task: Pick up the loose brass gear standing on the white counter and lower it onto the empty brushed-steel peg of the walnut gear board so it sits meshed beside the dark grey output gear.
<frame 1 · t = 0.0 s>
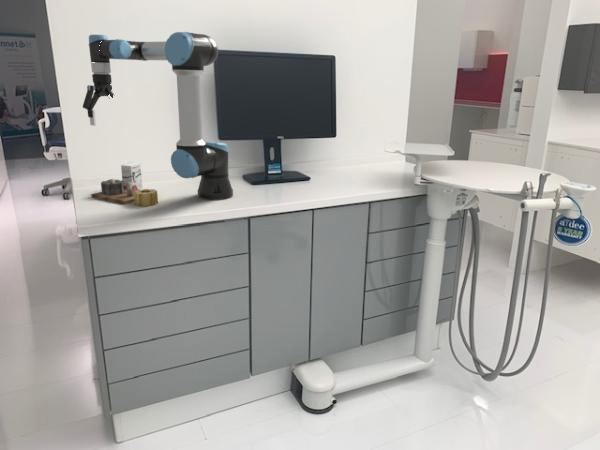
hand: (106, 124, 211), 28 cm above the worktop, fingers open, 13 cm apart
gear board: (121, 197, 200), on the worktop
ink box: (133, 190, 213), on the worktop
brass gear: (146, 203, 192), on the worktop
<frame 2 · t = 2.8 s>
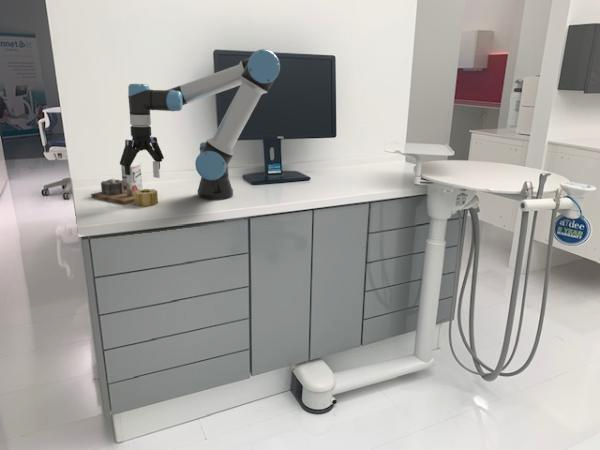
hand: (143, 180, 189), 10 cm above the worktop, fingers open, 13 cm apart
nothing on the worktop moved.
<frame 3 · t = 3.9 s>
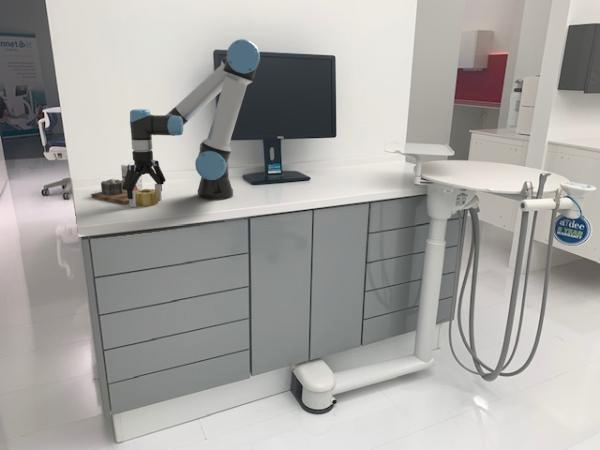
hand: (146, 203, 192), 0 cm above the worktop, fingers open, 13 cm apart
nothing on the worktop moved.
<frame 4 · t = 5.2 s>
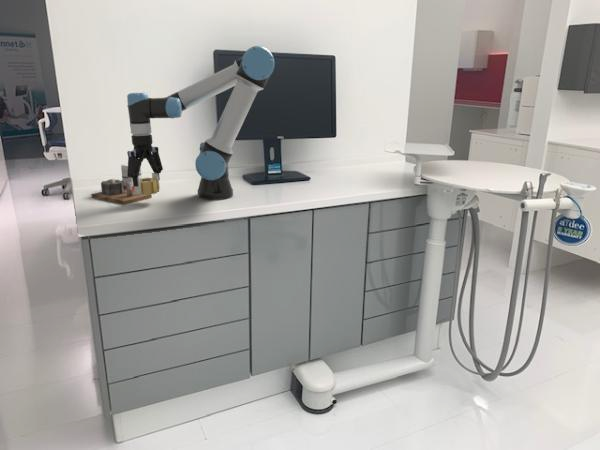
hand: (147, 191, 191), 5 cm above the worktop, fingers closed on brass gear, 9 cm apart
brass gear: (147, 192, 191), point 5 cm above the worktop, touching gripper
everything else where it was.
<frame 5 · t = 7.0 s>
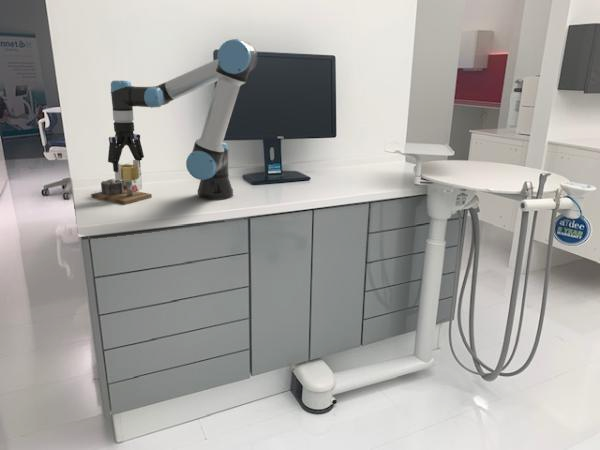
hand: (127, 177, 195), 9 cm above the worktop, fingers closed on brass gear, 9 cm apart
brass gear: (127, 178, 195), point 9 cm above the worktop, touching gripper
everything else where it was.
when the fingers open (3 cm above the worktop, at t = 8.9 s): brass gear drops 1 cm, resting on gear board.
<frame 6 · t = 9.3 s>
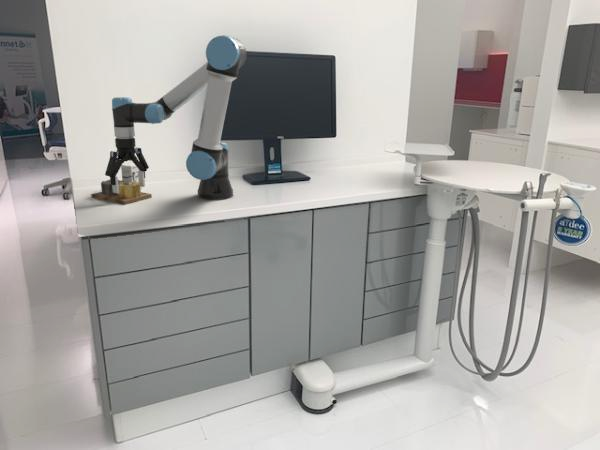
hand: (129, 189, 197), 4 cm above the worktop, fingers open, 13 cm apart
brass gear: (129, 195, 198), point 1 cm above the worktop, touching gear board
everything else where it was.
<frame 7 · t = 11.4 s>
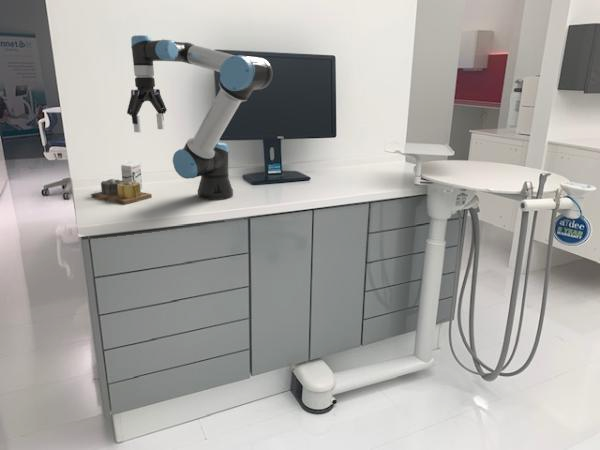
hand: (149, 130, 198), 27 cm above the worktop, fingers open, 13 cm apart
nothing on the worktop moved.
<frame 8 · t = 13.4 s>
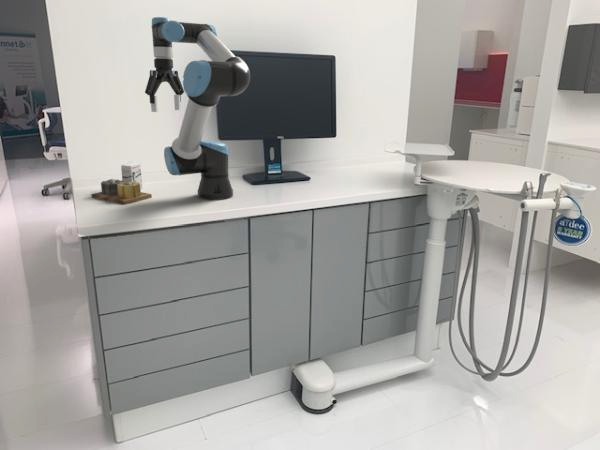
hand: (166, 111, 204), 35 cm above the worktop, fingers open, 13 cm apart
nothing on the worktop moved.
at the end: brass gear 0.1 cm from the target spot, point 1.5 cm above the worktop; brass gear tilted 0°; the gripper is holding nothing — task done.
